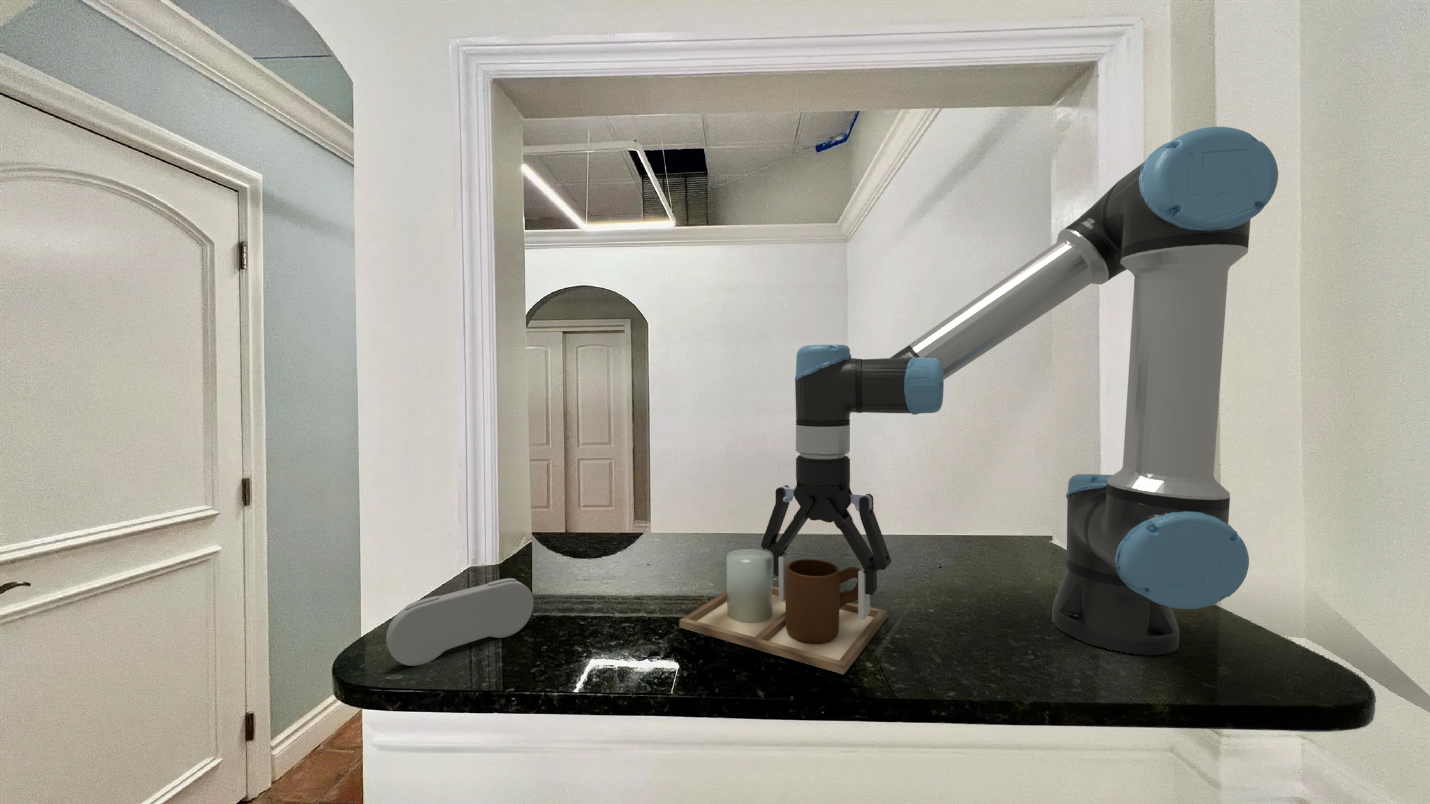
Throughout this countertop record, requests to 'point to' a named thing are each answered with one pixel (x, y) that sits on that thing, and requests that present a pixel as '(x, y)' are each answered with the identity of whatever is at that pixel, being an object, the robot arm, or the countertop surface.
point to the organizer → (779, 641)
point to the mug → (816, 599)
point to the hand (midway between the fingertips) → (823, 606)
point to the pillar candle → (749, 585)
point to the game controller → (458, 620)
